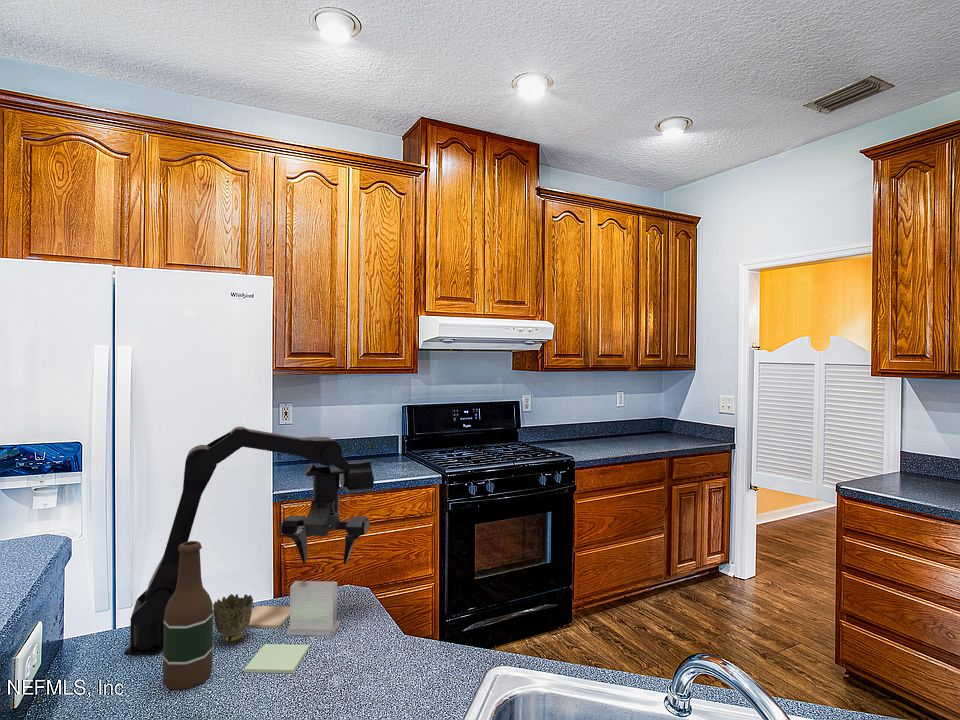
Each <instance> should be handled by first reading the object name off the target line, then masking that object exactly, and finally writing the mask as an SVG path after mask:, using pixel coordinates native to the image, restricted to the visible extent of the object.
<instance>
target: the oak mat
mask: <svg viewBox="0 0 960 720" xmlns="http://www.w3.org/2000/svg"><path fill="white" fill-rule="evenodd" d="M289 618H290V606H281V605H280V606H278V605H277V606H274V605H273V606H269V605H268V606H267V605H263V606H262V605H257V606H256V605H255V607H253V608H252V612H251V618H250V622H249V625H248V627H247V628H251V627H261V628H262V629H263V628H264V629H266V628H267V629H269V628H270V629H280V628H281V627H282V626H283V625H284V624H285V623H286V621H287V619H289Z"/></svg>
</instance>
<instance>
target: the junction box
mask: <svg viewBox="0 0 960 720" xmlns="http://www.w3.org/2000/svg"><path fill="white" fill-rule="evenodd" d="M289 588H290V589H289V592H290V593H289V607H290V616H289V627H288V629H287V630H286V631H285V632H286V636H316V637H317V636H318V637H321V636H322V637H323V636H326V637H330V636H331V637H334V636H336V634H337V632H338V630H339V629H340V627H341V626H342V620H338V581H332V580H331V581H325V580H323V581H320V580H319V581H318V580H295V581H294V582H293V583H292V584H291V585H290V587H289Z"/></svg>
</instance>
